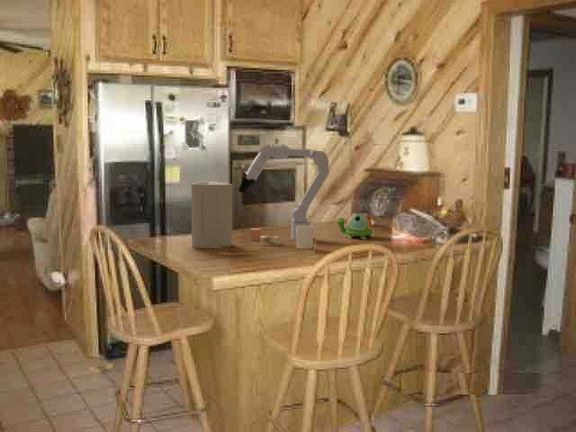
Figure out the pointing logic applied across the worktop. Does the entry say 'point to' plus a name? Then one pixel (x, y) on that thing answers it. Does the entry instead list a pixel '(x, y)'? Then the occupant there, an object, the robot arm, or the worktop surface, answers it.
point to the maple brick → (269, 240)
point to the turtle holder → (357, 226)
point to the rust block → (255, 233)
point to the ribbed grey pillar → (211, 214)
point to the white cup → (304, 236)
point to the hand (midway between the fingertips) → (241, 191)
